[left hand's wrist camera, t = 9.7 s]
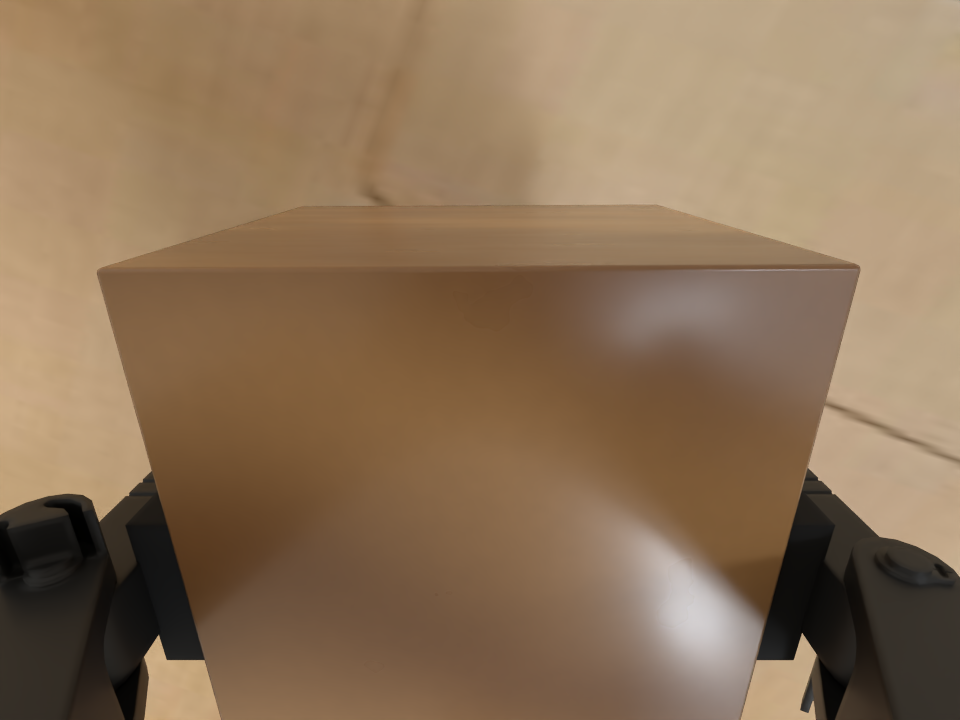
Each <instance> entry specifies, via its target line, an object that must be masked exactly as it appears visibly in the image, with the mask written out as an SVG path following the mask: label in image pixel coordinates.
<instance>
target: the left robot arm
mask: <svg viewBox="0 0 960 720" xmlns="http://www.w3.org/2000/svg"><path fill="white" fill-rule="evenodd" d="M802 633H803V634H804V636H805V637H806V639H807V640H808V642H809V643H810V645H811V646H812V648H813V649H814V651H815V652H816V654H817V656H816V659H815V662H814V665H813V668H812V671H811V674H810V677H809V680H808V684H807V687H806V690H805V693H804V696H803V699H802V704H801V709H800V710H801V711H804V712H807V713H808V712H809V709H810V707H811V704H812V701H814V705H815V715H816V720H960V577H959V576H958V575H957V573H956V572H955V571H954V570H953V569H952V568H951V567H949V566H948V565H947V564H945V563H944V562H943V561H942V560H940V559H939V558H938V557H936V556H934V555H932V554H930V553H928V552H926V551H924V550H922V549H920V548H918V547H916V546H913V545H910V544H907V543H904V542H901V541H898V540H894V539H888V538H881V537H879V536H878V535H877V534H876V533H875V532H874V531H873V530H872V529H870V528H869V527H868V526H867V525H866V524H865V523H864V522H863V521H862V520H861V519H860V518H859V517H858V516H857V515H856V514H855V513H854V512H853V511H852V510H851V509H850V508H849V507H848V506H847V505H846V504H845V503H844V502H842V501H841V500H840V499H839V498H838V497H837V496H836V495H835V494H832V491H831V490H830V489H829V488H828V487H827V486H826V485H825V484H824V483H823V482H822V481H818V477H817V476H816V475H815V474H813V473H812V472H811V471H810V470H809V469H808V468H807V472H806V476H805V480H804V483H803V487H802V491H801V495H800V498H799V502H798V506H797V510H796V513H795V517H794V521H793V525H792V528H791V532H790V536H789V540H788V543H787V547H786V551H785V555H784V558H783V562H782V566H781V570H780V573H779V577H778V581H777V585H776V588H775V592H774V596H773V600H772V603H771V607H770V611H769V615H768V618H767V622H766V626H765V630H764V633H763V637H762V641H761V645H760V648H759V652H758V656H757V660H794V657H795V654H796V650H797V647H798V644H799V641H800V638H801V634H802ZM158 635H159V636H160V639H161V643H162V646H163V649H164V652H165V655H166V659H167V660H205V659H204V655H203V652H202V648H201V645H200V641H199V638H198V634H197V630H196V627H195V623H194V620H193V616H192V612H191V609H190V605H189V602H188V598H187V595H186V591H185V587H184V584H183V580H182V577H181V573H180V569H179V566H178V562H177V559H176V555H175V551H174V548H173V544H172V541H171V537H170V534H169V530H168V526H167V523H166V519H165V516H164V512H163V508H162V505H161V501H160V498H159V494H158V490H157V487H156V483H155V480H154V476H153V473H152V471H151V472H150V473H149V474H148V475H147V476H146V477H145V478H144V479H143V483H139V484H138V485H137V486H136V487H135V488H134V489H133V490H132V491H131V492H130V493H129V496H126V497H125V498H124V499H123V500H121V501H120V502H119V503H118V504H117V505H116V506H115V507H114V508H113V509H112V510H111V511H110V512H109V513H108V514H107V515H106V516H105V517H104V518H103V519H102V520H101V521H100V522H99V521H98V518H97V515H96V512H95V509H94V506H93V503H92V500H90V499H89V498H87V497H85V496H84V495H76V494H62V495H55V496H48V497H44V498H41V499H37V500H34V501H31V502H27V503H25V504H22V505H20V506H18V507H16V508H13V509H11V510H9V511H7V512H5V513H3V514H1V515H0V720H144V717H145V707H146V698H147V689H148V680H149V676H148V670H147V665H146V662H145V659H144V656H145V654H146V653H147V651H148V650H149V648H150V647H151V645H152V644H153V642H154V641H155V639H156V638H157V636H158Z"/></svg>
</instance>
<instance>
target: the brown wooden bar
mask: <svg viewBox="0 0 960 720" xmlns="http://www.w3.org/2000/svg"><path fill="white" fill-rule="evenodd" d="M859 273H860V266H858V265H856V264H853V263H850V262H847V261H843V260H840V259H837V258H833V257H830V256H827V255H823V254H820V253H817V252H813V251H810V250H806V249H803V248H800V247H796V246H793V245H790V244H786V243H783V242H780V241H776V240H773V239H770V238H766V237H763V236H759V235H756V234H753V233H749V232H746V231H743V230H739V229H736V228H733V227H729V226H726V225H723V224H719V223H716V222H712V221H709V220H706V219H702V218H699V217H696V216H692V215H689V214H686V213H682V212H679V211H676V210H672V209H669V208H665V207H662V206H659V205H518V206H312V207H299V208H296V209H292V210H289V211H286V212H283V213H279V214H276V215H273V216H269V217H266V218H263V219H260V220H256V221H253V222H250V223H247V224H243V225H240V226H237V227H233V228H230V229H227V230H224V231H220V232H217V233H214V234H210V235H207V236H204V237H201V238H197V239H194V240H191V241H187V242H184V243H181V244H178V245H174V246H171V247H168V248H164V249H161V250H158V251H155V252H151V253H148V254H145V255H142V256H138V257H135V258H132V259H128V260H125V261H122V262H119V263H115V264H112V265H109V266H105V267H102V268H100V269H98V270H97V275H98V279H99V282H100V286H101V290H102V293H103V297H104V300H105V304H106V308H107V311H108V315H109V318H110V322H111V326H112V329H113V333H114V336H115V340H116V343H117V347H118V351H119V354H120V358H121V361H122V365H123V369H124V372H125V376H126V379H127V383H128V386H129V390H130V394H131V397H132V401H133V404H134V408H135V412H136V415H137V419H138V422H139V426H140V430H141V433H142V437H143V440H144V444H145V447H146V451H147V455H148V458H149V462H150V465H151V469H152V473H153V476H154V480H155V483H156V487H157V490H158V494H159V498H160V501H161V505H162V508H163V512H164V516H165V519H166V523H167V526H168V530H169V534H170V537H171V541H172V544H173V548H174V551H175V555H176V559H177V562H178V566H179V569H180V573H181V577H182V580H183V584H184V587H185V591H186V595H187V598H188V602H189V605H190V609H191V612H192V616H193V620H194V623H195V627H196V630H197V634H198V638H199V641H200V645H201V648H202V652H203V655H204V659H205V663H206V666H207V670H208V673H209V677H210V681H211V684H212V688H213V691H214V695H215V699H216V702H217V706H218V709H219V713H220V716H221V720H740V719H741V716H742V712H743V708H744V705H745V701H746V697H747V693H748V690H749V686H750V682H751V678H752V675H753V671H754V667H755V663H756V660H757V656H758V652H759V648H760V645H761V641H762V637H763V633H764V630H765V626H766V622H767V618H768V615H769V611H770V607H771V603H772V600H773V596H774V592H775V588H776V585H777V581H778V577H779V573H780V570H781V566H782V562H783V558H784V555H785V551H786V547H787V543H788V540H789V536H790V532H791V528H792V525H793V521H794V517H795V513H796V510H797V506H798V502H799V498H800V495H801V491H802V487H803V483H804V480H805V476H806V472H807V468H808V465H809V461H810V457H811V453H812V450H813V446H814V442H815V438H816V435H817V431H818V427H819V423H820V420H821V416H822V412H823V408H824V405H825V401H826V397H827V393H828V390H829V386H830V382H831V378H832V375H833V371H834V367H835V363H836V360H837V356H838V352H839V348H840V345H841V341H842V337H843V333H844V330H845V326H846V322H847V318H848V315H849V311H850V307H851V303H852V300H853V296H854V292H855V288H856V285H857V281H858V277H859Z"/></svg>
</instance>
